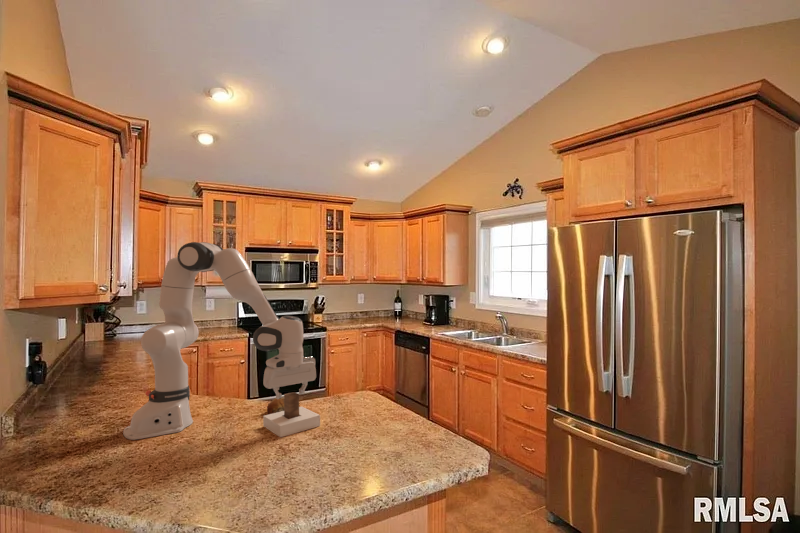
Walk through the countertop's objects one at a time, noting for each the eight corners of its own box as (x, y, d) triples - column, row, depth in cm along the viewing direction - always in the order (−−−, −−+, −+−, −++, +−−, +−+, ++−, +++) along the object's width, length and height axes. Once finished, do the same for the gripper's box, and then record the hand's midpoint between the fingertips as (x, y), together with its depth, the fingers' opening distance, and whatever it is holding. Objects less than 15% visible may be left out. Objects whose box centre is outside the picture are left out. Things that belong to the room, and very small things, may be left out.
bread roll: (293, 419, 176) (296, 399, 179) (285, 416, 166) (288, 395, 170) (270, 418, 177) (274, 398, 180) (261, 415, 167) (265, 395, 171)
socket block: (280, 437, 147) (280, 425, 147) (263, 426, 158) (263, 415, 158) (320, 425, 158) (320, 415, 158) (301, 416, 168) (301, 406, 168)
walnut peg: (289, 429, 155) (289, 396, 155) (284, 426, 158) (284, 394, 158) (299, 426, 158) (299, 394, 158) (294, 423, 161) (293, 392, 161)
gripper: (311, 354, 167) (310, 389, 167) (261, 361, 154) (261, 399, 154) (319, 357, 163) (319, 392, 163) (269, 364, 149) (268, 403, 149)
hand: (290, 396), depth 158 cm, fingers open, 8 cm apart
